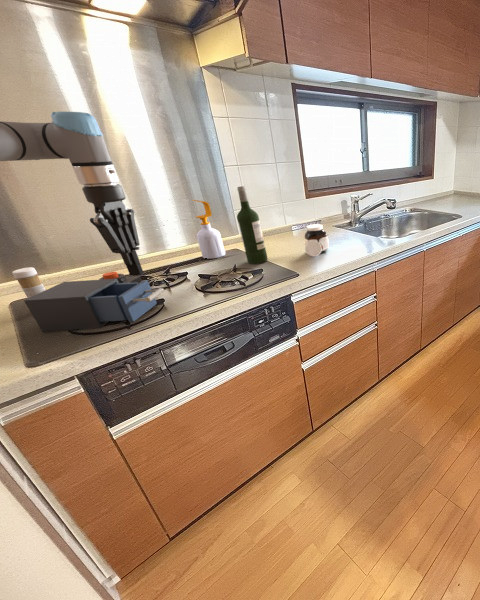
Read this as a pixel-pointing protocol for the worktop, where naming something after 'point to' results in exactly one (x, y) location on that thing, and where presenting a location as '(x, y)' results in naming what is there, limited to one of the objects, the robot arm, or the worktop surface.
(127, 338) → the worktop surface
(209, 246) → the soap bottle
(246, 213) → the wine bottle
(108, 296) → the blue drawer
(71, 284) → the grey drawer cabinet
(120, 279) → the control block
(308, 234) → the spread jar
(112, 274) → the button
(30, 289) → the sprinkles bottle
